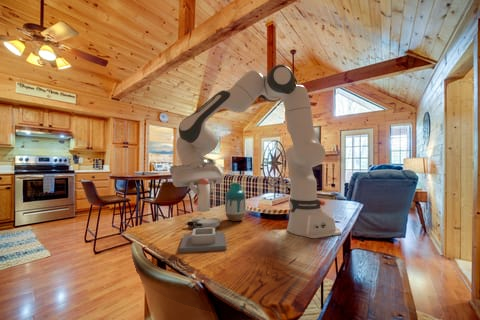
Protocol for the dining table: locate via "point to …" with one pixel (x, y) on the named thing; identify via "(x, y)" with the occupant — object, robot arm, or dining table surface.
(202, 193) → the pink-topped post
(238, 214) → the vase
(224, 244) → the jig
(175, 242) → the dining table surface
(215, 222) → the robot toy
